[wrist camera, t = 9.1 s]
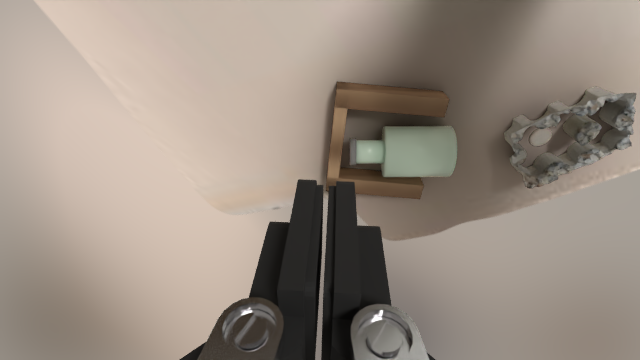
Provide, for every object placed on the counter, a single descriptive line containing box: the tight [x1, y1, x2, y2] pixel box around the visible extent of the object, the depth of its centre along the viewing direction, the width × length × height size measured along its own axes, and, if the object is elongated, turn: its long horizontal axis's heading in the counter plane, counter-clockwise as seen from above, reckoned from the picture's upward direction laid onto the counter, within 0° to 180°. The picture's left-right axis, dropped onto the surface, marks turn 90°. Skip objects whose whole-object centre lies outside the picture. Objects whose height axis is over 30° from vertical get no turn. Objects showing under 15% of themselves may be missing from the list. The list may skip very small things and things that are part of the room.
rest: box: [326, 82, 450, 199], centre depth 36 cm, size 12×11×2 cm
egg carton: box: [504, 86, 636, 188], centre depth 34 cm, size 11×8×4 cm
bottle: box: [349, 126, 457, 177], centre depth 35 cm, size 5×5×10 cm
